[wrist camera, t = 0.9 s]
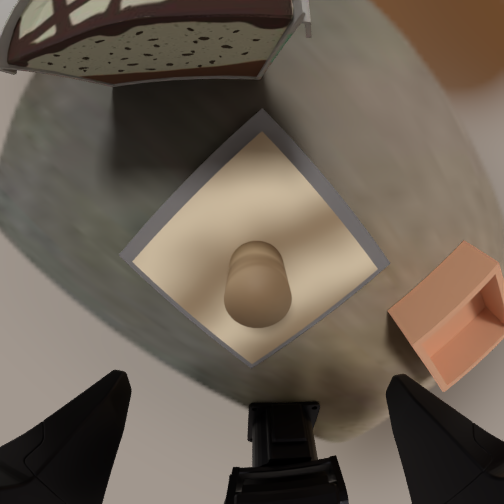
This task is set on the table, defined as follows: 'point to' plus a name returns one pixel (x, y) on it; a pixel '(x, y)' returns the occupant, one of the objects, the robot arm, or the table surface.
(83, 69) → the food container
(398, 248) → the table surface
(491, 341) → the open box
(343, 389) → the table surface
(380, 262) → the mat
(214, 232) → the lid
